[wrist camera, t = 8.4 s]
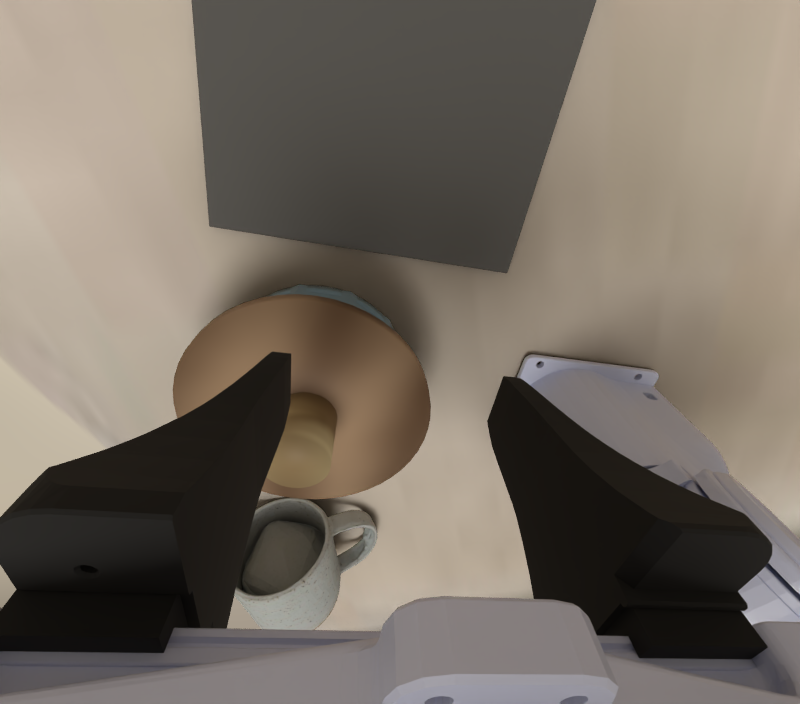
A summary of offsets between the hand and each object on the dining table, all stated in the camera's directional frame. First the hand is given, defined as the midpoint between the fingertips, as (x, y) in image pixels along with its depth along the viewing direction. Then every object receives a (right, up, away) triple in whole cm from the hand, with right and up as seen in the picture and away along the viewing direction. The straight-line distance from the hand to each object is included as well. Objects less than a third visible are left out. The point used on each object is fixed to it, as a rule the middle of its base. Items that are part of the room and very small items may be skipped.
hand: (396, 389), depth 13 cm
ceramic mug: (-7, -13, +20) cm, 25 cm away
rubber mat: (-1, +13, +4) cm, 14 cm away
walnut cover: (-5, -2, +8) cm, 9 cm away
